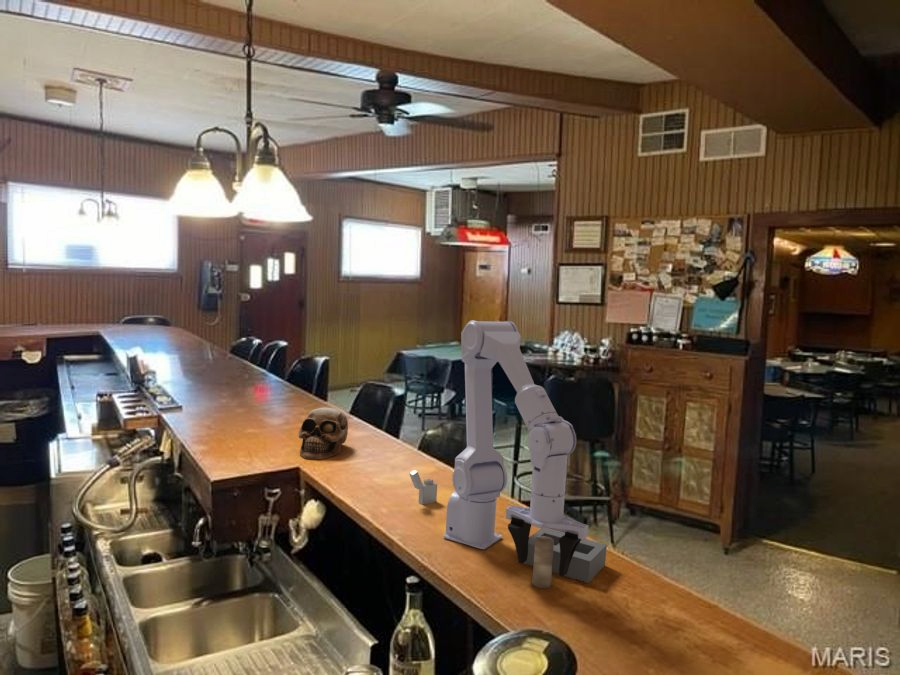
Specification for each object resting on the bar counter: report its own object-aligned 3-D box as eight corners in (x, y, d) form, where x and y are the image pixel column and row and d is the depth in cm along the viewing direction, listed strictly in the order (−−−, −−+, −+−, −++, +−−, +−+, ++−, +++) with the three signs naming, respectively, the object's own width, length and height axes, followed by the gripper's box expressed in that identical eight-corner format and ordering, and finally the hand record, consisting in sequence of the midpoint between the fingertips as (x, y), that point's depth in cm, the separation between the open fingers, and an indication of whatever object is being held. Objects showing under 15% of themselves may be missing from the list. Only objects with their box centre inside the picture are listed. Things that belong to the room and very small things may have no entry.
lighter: (432, 499, 152) (434, 466, 151) (436, 501, 151) (438, 468, 150) (407, 504, 148) (409, 470, 147) (411, 506, 146) (413, 472, 145)
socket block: (521, 562, 120) (522, 541, 120) (541, 546, 128) (542, 527, 128) (588, 583, 114) (590, 561, 113) (605, 565, 121) (606, 544, 121)
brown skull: (305, 460, 177) (307, 411, 177) (289, 450, 192) (290, 405, 192) (359, 457, 184) (361, 410, 184) (339, 448, 199) (341, 405, 200)
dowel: (529, 584, 112) (532, 540, 111) (536, 578, 115) (539, 534, 114) (546, 590, 110) (549, 545, 109) (553, 583, 113) (556, 539, 112)
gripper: (499, 488, 111) (494, 564, 113) (579, 507, 104) (573, 589, 105) (517, 478, 117) (512, 550, 119) (594, 496, 110) (588, 573, 111)
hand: (542, 567), depth 112 cm, fingers open, 7 cm apart
